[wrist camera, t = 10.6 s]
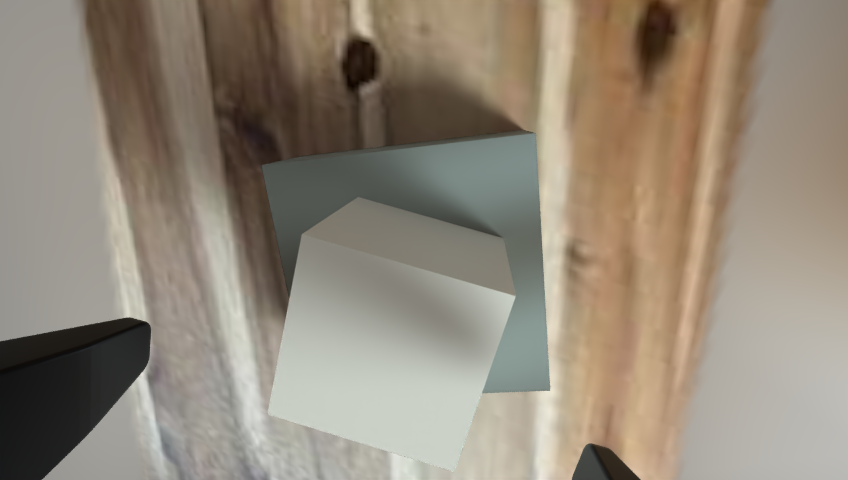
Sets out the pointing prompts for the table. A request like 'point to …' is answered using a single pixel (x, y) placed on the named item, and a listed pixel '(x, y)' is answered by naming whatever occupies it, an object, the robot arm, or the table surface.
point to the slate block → (444, 200)
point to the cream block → (392, 330)
